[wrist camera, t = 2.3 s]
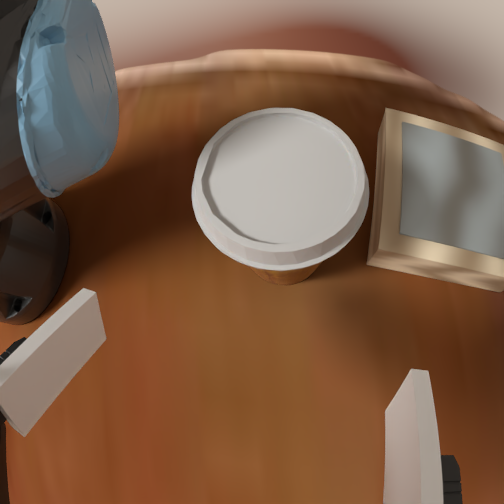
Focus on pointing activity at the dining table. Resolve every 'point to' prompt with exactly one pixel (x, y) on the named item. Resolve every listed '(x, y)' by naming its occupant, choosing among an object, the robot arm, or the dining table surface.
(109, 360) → the dining table surface
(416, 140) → the birch base block
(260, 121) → the disposable coffee cup
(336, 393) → the dining table surface
